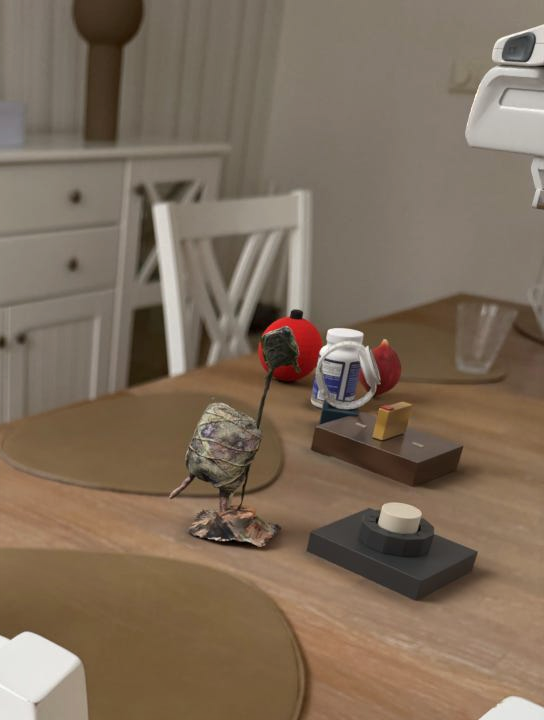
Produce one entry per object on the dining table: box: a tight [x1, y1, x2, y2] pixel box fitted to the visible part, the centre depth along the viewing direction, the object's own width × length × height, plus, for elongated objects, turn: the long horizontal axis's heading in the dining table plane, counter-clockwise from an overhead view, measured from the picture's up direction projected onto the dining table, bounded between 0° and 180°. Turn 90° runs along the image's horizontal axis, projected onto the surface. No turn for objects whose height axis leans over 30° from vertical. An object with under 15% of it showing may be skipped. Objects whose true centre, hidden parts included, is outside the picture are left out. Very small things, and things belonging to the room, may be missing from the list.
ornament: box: [258, 308, 323, 382], centre depth 141 cm, size 9×9×10 cm
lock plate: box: [310, 411, 464, 488], centre depth 117 cm, size 14×10×3 cm
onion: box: [358, 338, 403, 398], centre depth 137 cm, size 6×6×8 cm
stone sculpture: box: [168, 326, 301, 548], centre depth 92 cm, size 8×11×20 cm
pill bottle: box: [310, 327, 365, 410], centre depth 132 cm, size 6×6×10 cm
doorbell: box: [306, 507, 479, 602], centre depth 92 cm, size 12×10×4 cm
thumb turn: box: [372, 401, 413, 440], centre depth 115 cm, size 5×1×4 cm, turn 131°
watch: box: [315, 341, 381, 425], centre depth 123 cm, size 6×8×11 cm
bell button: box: [378, 502, 423, 534], centre depth 91 cm, size 4×4×2 cm
